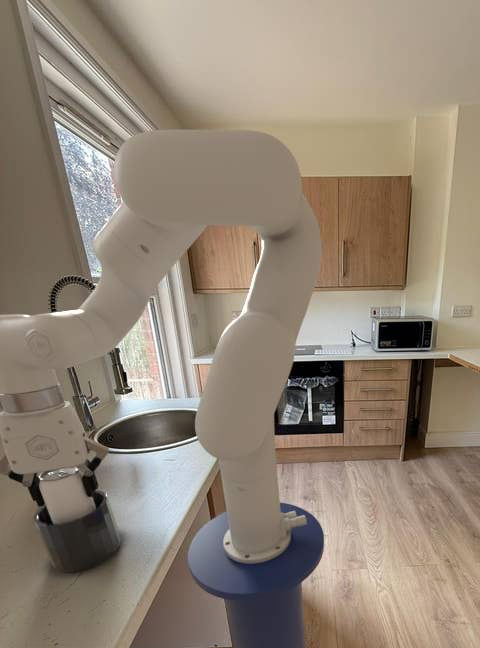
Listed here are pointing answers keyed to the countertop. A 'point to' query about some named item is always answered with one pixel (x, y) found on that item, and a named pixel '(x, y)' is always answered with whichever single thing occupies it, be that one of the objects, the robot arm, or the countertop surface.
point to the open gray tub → (80, 537)
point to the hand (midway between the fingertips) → (68, 496)
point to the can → (65, 494)
